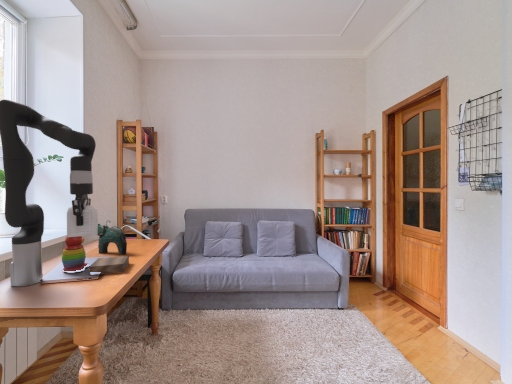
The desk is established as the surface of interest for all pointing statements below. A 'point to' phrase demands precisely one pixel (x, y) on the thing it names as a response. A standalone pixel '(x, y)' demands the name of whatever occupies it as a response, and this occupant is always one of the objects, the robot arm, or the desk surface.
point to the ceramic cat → (111, 238)
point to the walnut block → (110, 265)
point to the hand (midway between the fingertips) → (82, 224)
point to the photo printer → (88, 223)
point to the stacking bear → (74, 254)
